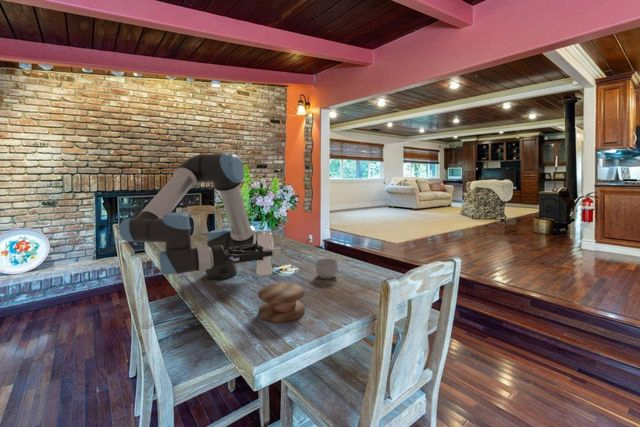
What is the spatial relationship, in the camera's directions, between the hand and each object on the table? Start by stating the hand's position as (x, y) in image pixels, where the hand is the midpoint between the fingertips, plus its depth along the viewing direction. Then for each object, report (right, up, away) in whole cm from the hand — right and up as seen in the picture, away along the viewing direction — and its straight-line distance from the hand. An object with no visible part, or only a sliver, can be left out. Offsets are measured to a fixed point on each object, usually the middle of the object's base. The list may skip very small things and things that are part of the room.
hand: (277, 249), depth 116 cm
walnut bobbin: (+2, -24, +3) cm, 24 cm away
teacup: (+19, -18, +42) cm, 49 cm away
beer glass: (-4, -9, -1) cm, 10 cm away
